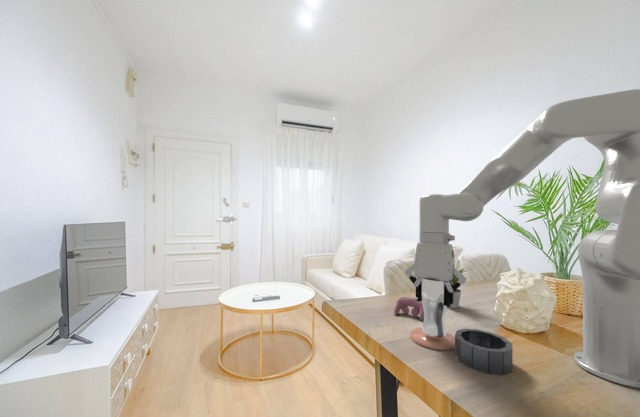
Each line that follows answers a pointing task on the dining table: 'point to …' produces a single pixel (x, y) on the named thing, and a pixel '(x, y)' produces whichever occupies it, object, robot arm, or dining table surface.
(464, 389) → the dining table surface
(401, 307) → the video game controller
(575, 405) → the dining table surface
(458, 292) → the house plant
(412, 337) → the coaster
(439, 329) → the beer glass
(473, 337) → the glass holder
